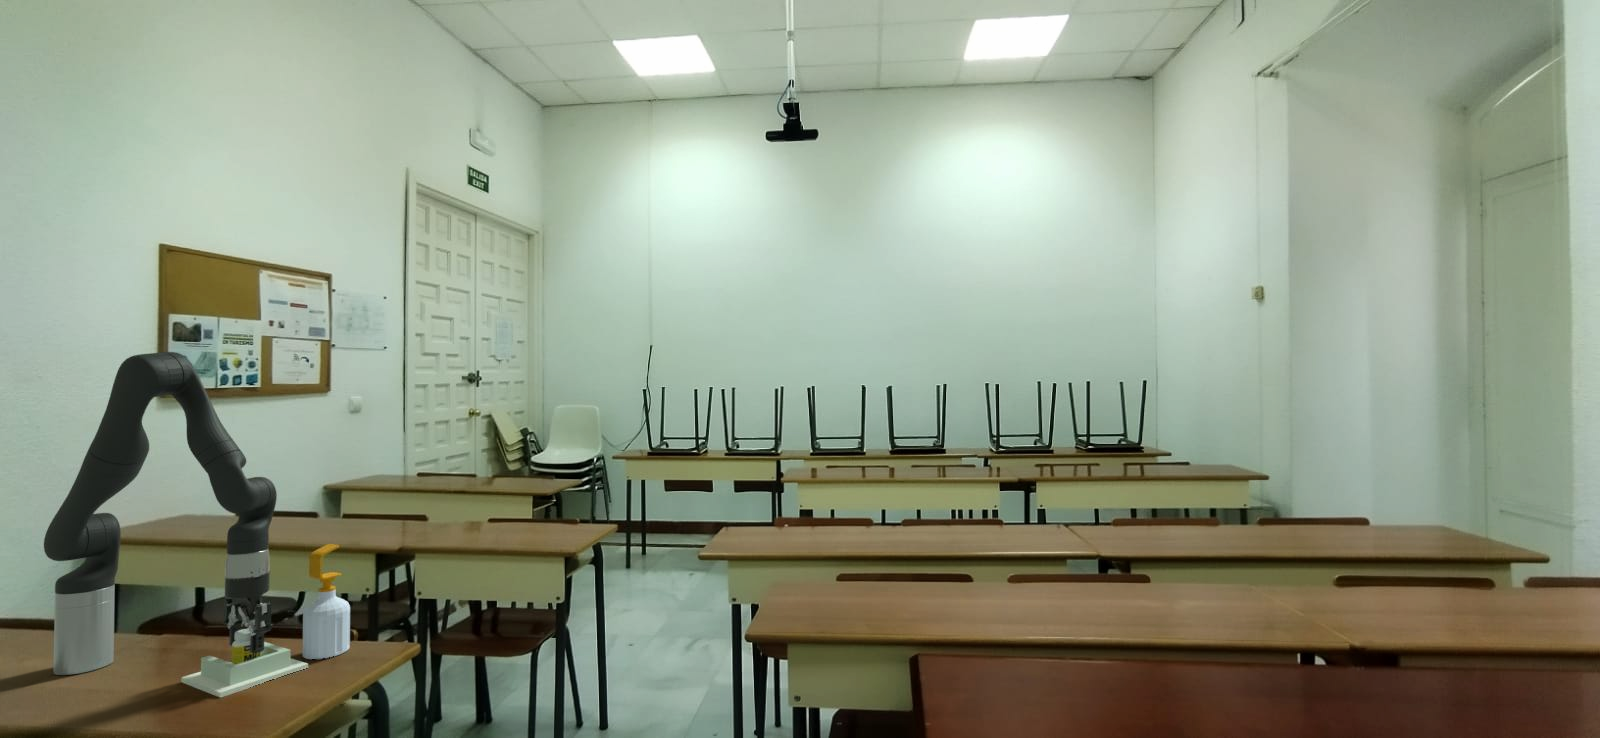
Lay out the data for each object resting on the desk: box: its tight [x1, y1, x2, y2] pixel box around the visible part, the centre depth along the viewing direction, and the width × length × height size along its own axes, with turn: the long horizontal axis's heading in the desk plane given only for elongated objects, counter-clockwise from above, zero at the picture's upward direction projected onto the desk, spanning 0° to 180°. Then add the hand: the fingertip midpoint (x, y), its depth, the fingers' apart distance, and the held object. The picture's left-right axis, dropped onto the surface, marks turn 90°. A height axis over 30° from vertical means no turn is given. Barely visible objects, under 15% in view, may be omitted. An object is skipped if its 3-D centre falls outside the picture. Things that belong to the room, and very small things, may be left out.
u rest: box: [180, 641, 309, 698], centre depth 149 cm, size 16×16×4 cm
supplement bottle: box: [231, 627, 260, 664], centre depth 149 cm, size 5×5×8 cm
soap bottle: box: [302, 543, 351, 660], centre depth 161 cm, size 9×9×25 cm
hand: (246, 648), depth 149 cm, fingers open, 8 cm apart
